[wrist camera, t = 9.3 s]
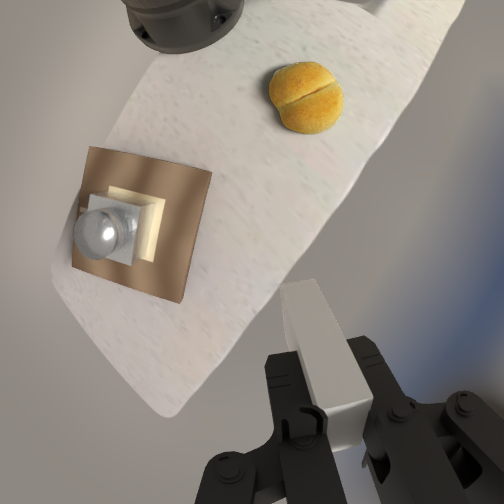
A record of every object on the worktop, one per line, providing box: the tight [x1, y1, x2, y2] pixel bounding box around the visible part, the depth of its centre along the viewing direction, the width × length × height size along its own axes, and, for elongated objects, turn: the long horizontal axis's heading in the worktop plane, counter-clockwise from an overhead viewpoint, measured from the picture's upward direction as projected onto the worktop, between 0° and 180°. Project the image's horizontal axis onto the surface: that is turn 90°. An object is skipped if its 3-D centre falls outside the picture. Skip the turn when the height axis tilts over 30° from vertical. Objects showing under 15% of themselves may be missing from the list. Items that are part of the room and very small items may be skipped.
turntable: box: [72, 146, 212, 304], centre depth 36 cm, size 16×16×2 cm
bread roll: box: [269, 62, 344, 134], centre depth 32 cm, size 8×9×4 cm
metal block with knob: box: [74, 191, 156, 266], centre depth 31 cm, size 6×6×8 cm
